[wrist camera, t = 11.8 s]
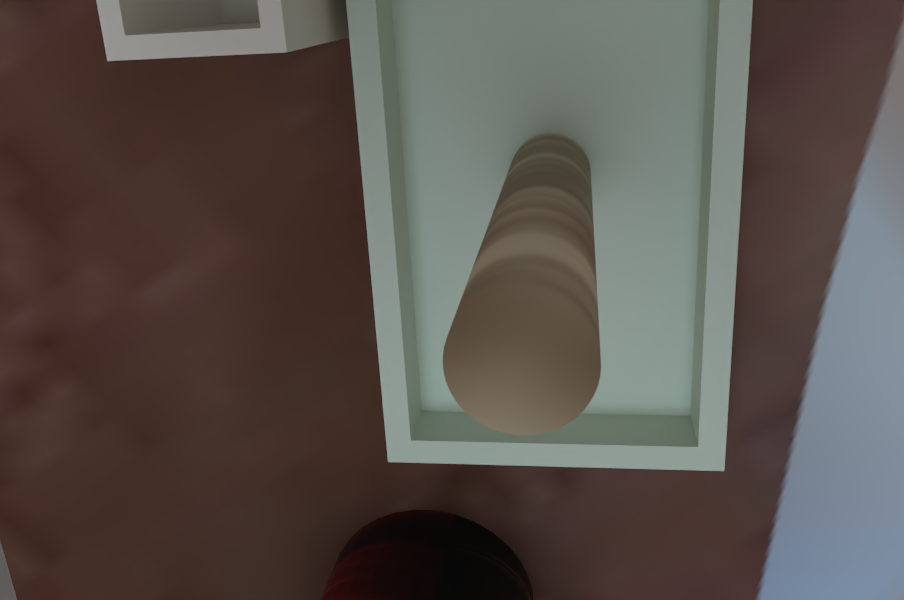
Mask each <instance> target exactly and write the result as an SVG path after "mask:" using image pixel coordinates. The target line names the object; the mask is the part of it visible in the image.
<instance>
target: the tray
mask: <svg viewBox="0 0 904 600" xmlns="http://www.w3.org/2000/svg"><path fill="white" fill-rule="evenodd" d="M346 7H347V18H348V29H349V40H350V51H351V62H352V73H353V84H354V95H355V106H356V117H357V128H358V138H359V149H360V160H361V171H362V182H363V193H364V204H365V215H366V226H367V237H368V248H369V259H370V270H371V281H372V292H373V303H374V314H375V325H376V336H377V347H378V358H379V368H380V379H381V390H382V401H383V412H384V423H385V434H386V445H387V456H388V462H406V463H443V464H481V465H518V466H555V467H592V468H629V469H666V470H704V471H724V468H725V452H726V435H727V419H728V402H729V386H730V369H731V353H732V336H733V320H734V303H735V287H736V271H737V254H738V238H739V221H740V205H741V188H742V172H743V155H744V139H745V122H746V106H747V90H748V73H749V57H750V40H751V24H752V7H753V0H346ZM543 134H558V135H562V136H565V137H568V138H570V139H572V140H573V141H575V142H576V143H577V144H578V145H579V146H580V147H581V148H582V149H583V151H584V152H585V154H586V155H587V157H588V160H589V163H590V168H591V186H592V205H593V223H594V242H595V261H596V280H597V299H598V317H599V336H600V355H601V374H600V380H599V384H598V387H597V390H596V392H595V394H594V396H593V398H592V400H591V402H590V403H589V404H588V406H587V407H586V408H585V410H584V411H583V412H582V413H581V414H580V415H579V416H578V417H576V418H575V419H574V420H572V421H571V422H570V423H568V424H566V425H564V426H563V427H561V428H558V429H556V430H553V431H550V432H547V433H543V434H537V435H524V436H522V435H512V434H506V433H502V432H499V431H496V430H493V429H491V428H488V427H486V426H484V425H482V424H481V423H479V422H477V421H476V420H474V419H473V418H472V417H470V416H469V415H468V414H467V413H466V412H465V411H464V410H463V409H462V408H461V407H460V406H459V404H458V403H457V402H456V401H455V399H454V397H453V396H452V394H451V392H450V390H449V388H448V386H447V383H446V380H445V376H444V371H443V351H444V345H445V342H446V339H447V336H448V333H449V330H450V328H451V325H452V322H453V320H454V317H455V314H456V311H457V309H458V306H459V303H460V301H461V298H462V295H463V292H464V290H465V287H466V284H467V282H468V279H469V276H470V273H471V271H472V268H473V265H474V263H475V260H476V257H477V254H478V252H479V249H480V246H481V244H482V241H483V238H484V236H485V233H486V230H487V227H488V225H489V222H490V219H491V217H492V214H493V211H494V208H495V206H496V203H497V200H498V198H499V195H500V192H501V189H502V187H503V184H504V181H505V179H506V176H507V173H508V170H509V168H510V165H511V162H512V160H513V158H514V155H515V154H516V152H517V151H518V149H519V148H520V147H521V146H522V145H523V144H524V143H525V142H527V141H528V140H530V139H532V138H534V137H536V136H539V135H543Z"/></svg>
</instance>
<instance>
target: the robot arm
mask: <svg viewBox="0 0 904 600" xmlns="http://www.w3.org/2000/svg"><path fill="white" fill-rule="evenodd" d="M0 600H17V598H16V595H15V591H14V588H13V584H12V581H11V577H10V574H9V570H8V567H7V564H6V560H5V557H4V553H3V550H2V546H1V543H0Z"/></svg>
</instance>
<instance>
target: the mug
mask: <svg viewBox="0 0 904 600" xmlns="http://www.w3.org/2000/svg"><path fill="white" fill-rule="evenodd" d="M321 600H533V593H532V589H531V585H530V582H529V578H528V575H527V573H526V571H525V570H524V568H523V566H522V564H521V562H520V560H519V559H518V558H517V556H516V555H515V554H514V553H513V551H512V550H511V549H510V548H509V547H508V545H507V544H505V543H504V542H503V541H502V540H501V539H499V538H498V537H497V536H496V535H495V534H494V533H492V532H491V531H489V530H487V529H486V528H484V527H482V526H480V525H479V524H477V523H475V522H473V521H470V520H468V519H465V518H463V517H460V516H457V515H454V514H449V513H444V512H439V511H431V510H411V511H404V512H397V513H393V514H390V515H387V516H384V517H381V518H378V519H376V520H375V521H373V522H371V523H369V524H368V525H366V526H364V527H363V528H361V529H360V530H359V531H358V532H357V533H356V534H355V535H354V536H353V537H352V538H351V539H349V541H348V542H347V544H346V545H345V547H344V548H343V550H342V551H341V553H340V555H339V557H338V560H337V562H336V565H335V567H334V569H333V572H332V574H331V576H330V579H329V581H328V583H327V586H326V588H325V590H324V593H323V595H322V597H321Z"/></svg>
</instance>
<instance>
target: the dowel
mask: <svg viewBox="0 0 904 600" xmlns="http://www.w3.org/2000/svg"><path fill="white" fill-rule="evenodd" d="M443 371H444V376H445V380H446V383H447V386H448V388H449V390H450V392H451V394H452V396H453V397H454V399H455V401H456V402H457V403H458V404H459V406H460V407H461V408H462V409H463V410H464V411H465V412H466V413H467V414H468V415H469V416H470V417H472V418H473V419H474V420H476V421H477V422H479V423H481V424H482V425H484V426H486V427H488V428H491V429H493V430H496V431H499V432H502V433H506V434H512V435H522V436H524V435H537V434H543V433H547V432H550V431H553V430H556V429H558V428H561V427H563V426H564V425H566V424H568V423H570V422H571V421H572V420H574V419H575V418H576V417H578V416H579V415H580V414H581V413H582V412H583V411H584V410H585V408H586V407H587V406H588V404H589V403H590V402H591V400H592V398H593V396H594V394H595V392H596V390H597V387H598V384H599V380H600V374H601V355H600V336H599V317H598V299H597V280H596V261H595V242H594V223H593V205H592V186H591V168H590V163H589V160H588V157H587V155H586V154H585V152H584V151H583V149H582V148H581V147H580V146H579V145H578V144H577V143H576V142H575V141H573V140H572V139H570V138H568V137H565V136H562V135H558V134H543V135H539V136H536V137H534V138H532V139H530V140H528V141H527V142H525V143H524V144H523V145H522V146H521V147H520V148H519V149H518V151H517V152H516V154H515V155H514V158H513V160H512V162H511V165H510V168H509V170H508V173H507V176H506V179H505V181H504V184H503V187H502V189H501V192H500V195H499V198H498V200H497V203H496V206H495V208H494V211H493V214H492V217H491V219H490V222H489V225H488V227H487V230H486V233H485V236H484V238H483V241H482V244H481V246H480V249H479V252H478V254H477V257H476V260H475V263H474V265H473V268H472V271H471V273H470V276H469V279H468V282H467V284H466V287H465V290H464V292H463V295H462V298H461V301H460V303H459V306H458V309H457V311H456V314H455V317H454V320H453V322H452V325H451V328H450V330H449V333H448V336H447V339H446V342H445V345H444V351H443Z"/></svg>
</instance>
